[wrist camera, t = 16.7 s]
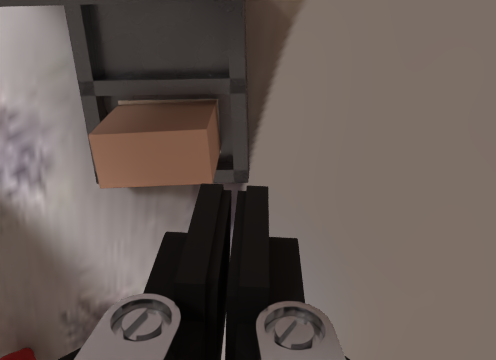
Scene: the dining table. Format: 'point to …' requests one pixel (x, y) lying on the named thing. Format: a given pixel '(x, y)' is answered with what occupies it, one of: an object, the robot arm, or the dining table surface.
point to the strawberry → (20, 355)
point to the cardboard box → (157, 145)
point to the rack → (163, 62)
